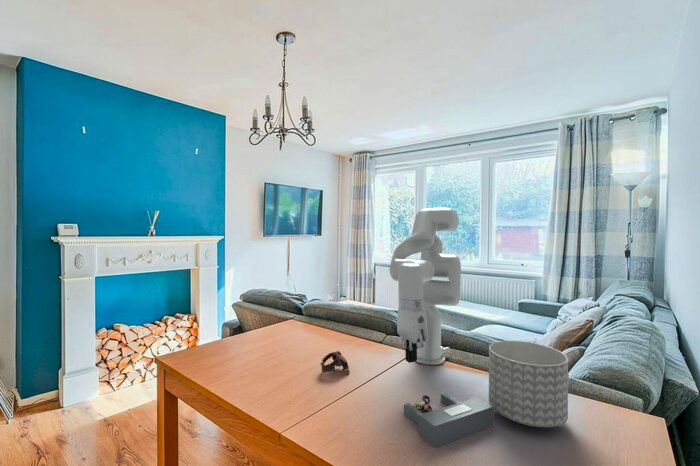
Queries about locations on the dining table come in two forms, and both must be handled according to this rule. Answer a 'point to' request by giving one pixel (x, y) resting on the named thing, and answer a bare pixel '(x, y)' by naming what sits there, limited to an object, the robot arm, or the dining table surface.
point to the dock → (452, 419)
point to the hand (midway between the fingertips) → (411, 360)
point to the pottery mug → (334, 362)
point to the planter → (528, 383)
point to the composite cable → (424, 404)
